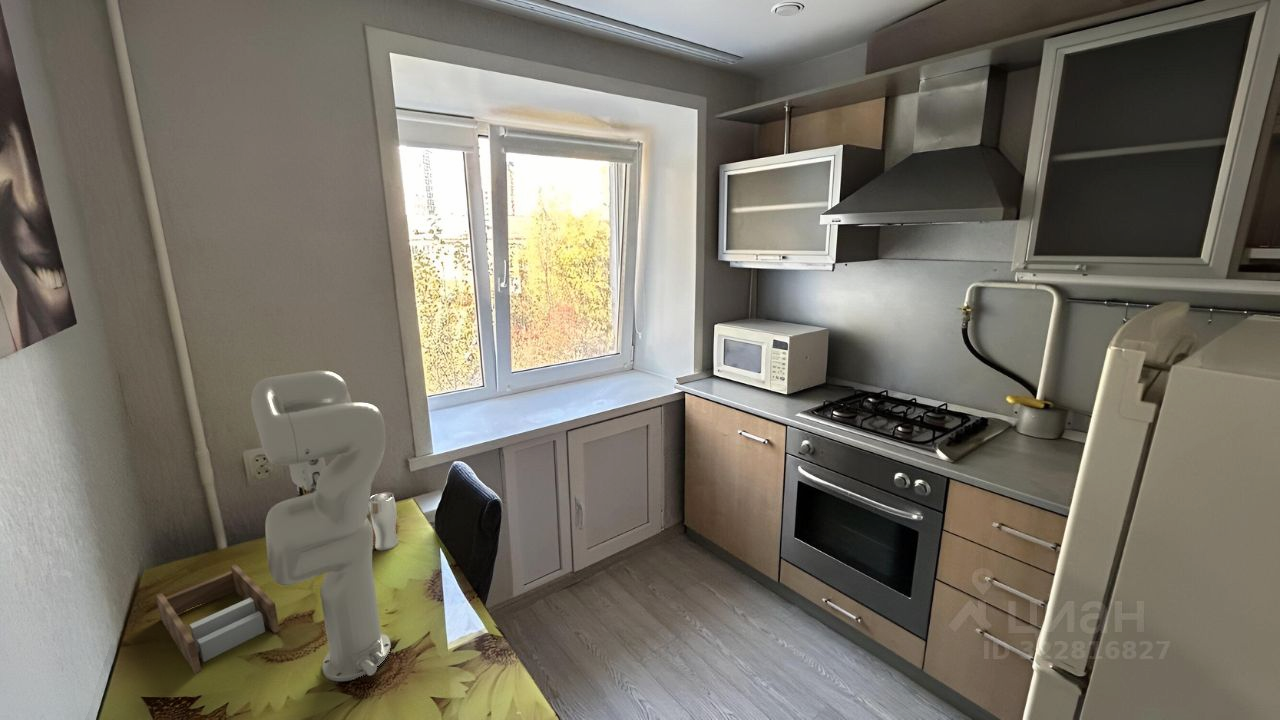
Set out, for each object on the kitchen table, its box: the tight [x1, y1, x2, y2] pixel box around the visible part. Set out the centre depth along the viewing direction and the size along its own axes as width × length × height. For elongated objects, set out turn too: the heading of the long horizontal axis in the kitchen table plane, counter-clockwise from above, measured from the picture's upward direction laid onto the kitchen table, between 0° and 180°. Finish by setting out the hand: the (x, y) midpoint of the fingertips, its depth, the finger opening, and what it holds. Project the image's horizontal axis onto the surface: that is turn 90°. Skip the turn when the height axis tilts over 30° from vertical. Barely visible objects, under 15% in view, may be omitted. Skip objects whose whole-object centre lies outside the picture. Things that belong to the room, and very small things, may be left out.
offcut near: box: [189, 597, 256, 653], centre depth 114 cm, size 2×11×6 cm, turn 143°
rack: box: [155, 563, 280, 674], centre depth 118 cm, size 27×15×7 cm, turn 53°
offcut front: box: [197, 611, 266, 662], centre depth 112 cm, size 2×11×4 cm, turn 143°
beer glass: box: [368, 491, 399, 552], centre depth 149 cm, size 7×7×15 cm
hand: (313, 510), depth 126 cm, fingers closed on utensil holder, 5 cm apart
